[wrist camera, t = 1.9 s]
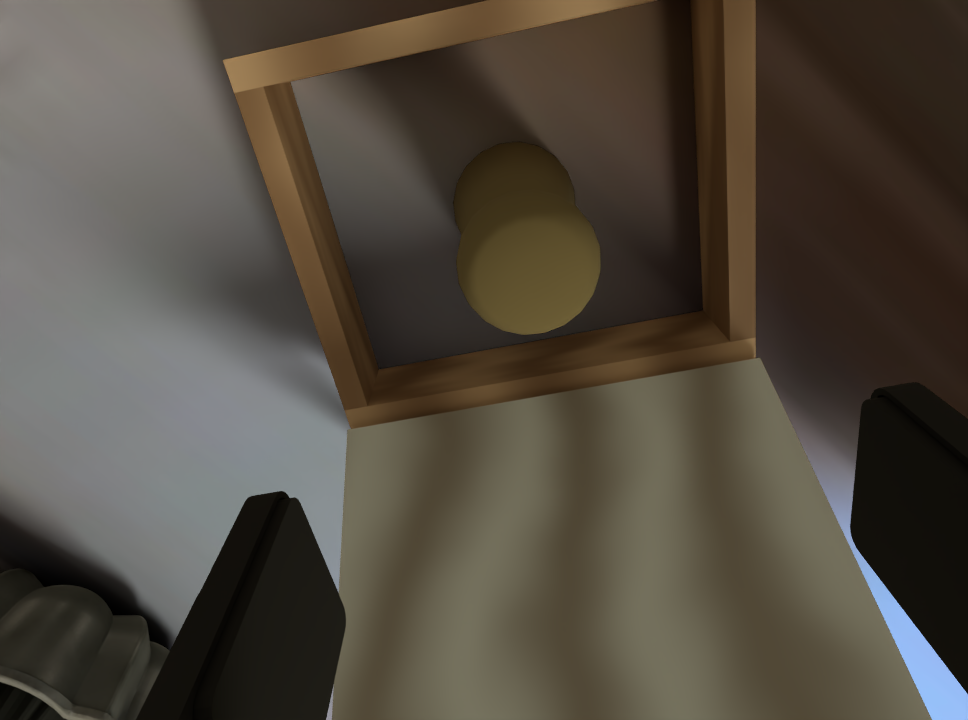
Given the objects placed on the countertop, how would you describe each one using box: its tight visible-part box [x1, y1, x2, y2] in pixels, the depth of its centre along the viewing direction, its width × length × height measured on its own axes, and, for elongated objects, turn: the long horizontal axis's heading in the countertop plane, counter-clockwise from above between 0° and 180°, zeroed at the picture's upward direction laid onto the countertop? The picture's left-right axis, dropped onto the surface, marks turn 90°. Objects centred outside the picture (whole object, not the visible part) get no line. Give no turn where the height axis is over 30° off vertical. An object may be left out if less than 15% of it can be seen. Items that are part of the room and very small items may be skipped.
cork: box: [453, 142, 601, 335], centre depth 26 cm, size 6×6×11 cm
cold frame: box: [223, 0, 932, 720], centre depth 23 cm, size 20×25×21 cm
